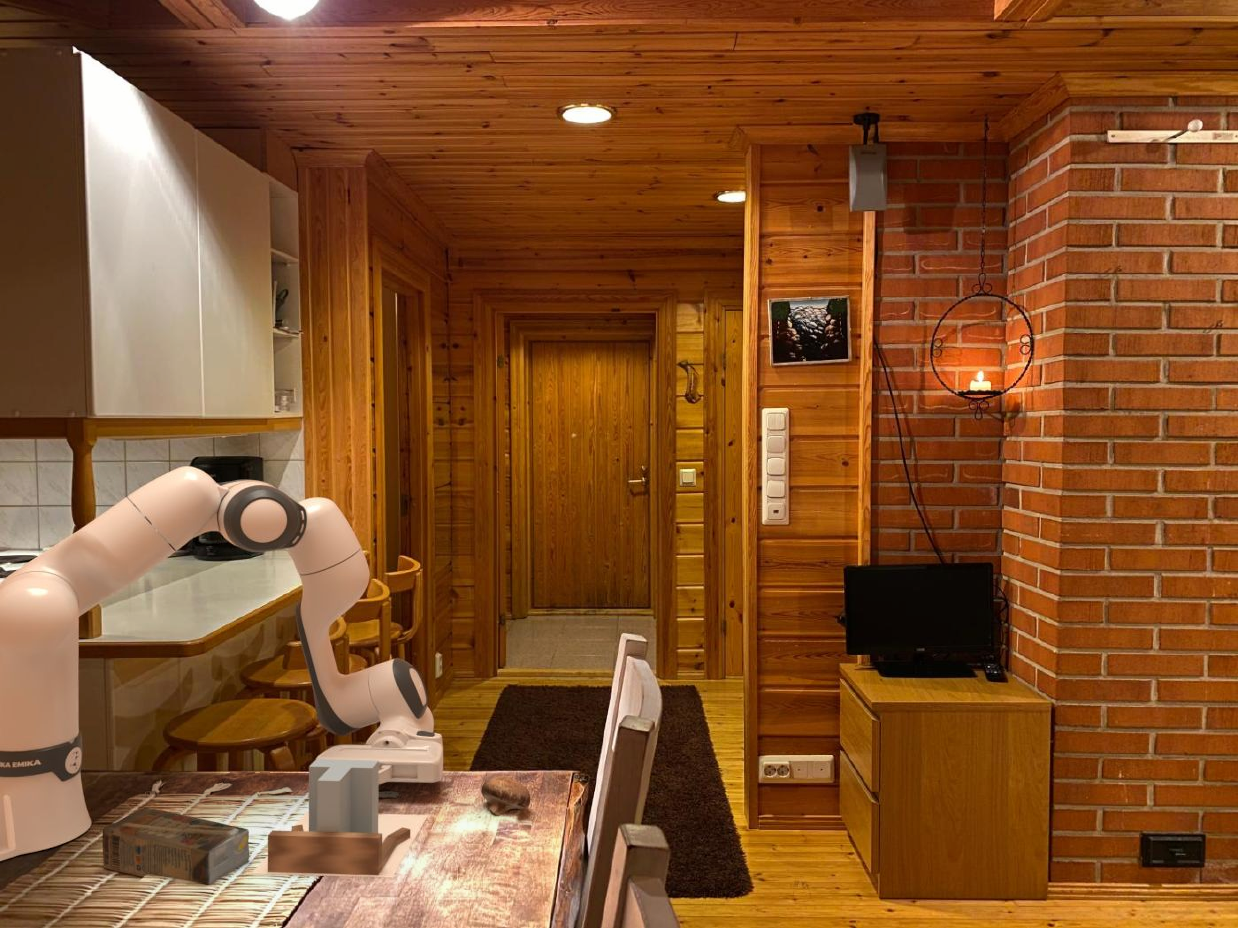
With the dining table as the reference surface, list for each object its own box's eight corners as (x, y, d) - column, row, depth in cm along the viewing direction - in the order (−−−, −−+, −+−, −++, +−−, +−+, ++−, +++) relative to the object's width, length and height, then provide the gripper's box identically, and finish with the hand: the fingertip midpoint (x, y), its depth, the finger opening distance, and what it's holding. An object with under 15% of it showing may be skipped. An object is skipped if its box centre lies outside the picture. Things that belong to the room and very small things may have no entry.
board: (251, 880, 122) (251, 873, 122) (306, 818, 142) (306, 811, 142) (392, 884, 121) (392, 877, 121) (427, 821, 141) (428, 814, 141)
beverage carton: (208, 896, 118) (208, 846, 118) (98, 871, 124) (98, 824, 124) (251, 869, 125) (251, 822, 125) (145, 847, 132) (145, 803, 131)
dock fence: (258, 871, 122) (258, 834, 122) (293, 832, 134) (293, 798, 134) (388, 875, 122) (388, 838, 122) (411, 835, 134) (411, 801, 134)
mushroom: (487, 809, 138) (500, 768, 142) (465, 812, 144) (478, 773, 148) (531, 826, 141) (543, 786, 145) (508, 828, 147) (519, 790, 151)
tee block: (295, 867, 124) (295, 779, 123) (316, 841, 132) (316, 758, 131) (360, 869, 123) (361, 781, 123) (378, 842, 131) (378, 760, 131)
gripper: (331, 731, 155) (300, 760, 141) (451, 734, 154) (431, 763, 140) (331, 768, 155) (300, 801, 141) (450, 770, 154) (431, 804, 140)
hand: (366, 782), depth 140 cm, fingers closed
